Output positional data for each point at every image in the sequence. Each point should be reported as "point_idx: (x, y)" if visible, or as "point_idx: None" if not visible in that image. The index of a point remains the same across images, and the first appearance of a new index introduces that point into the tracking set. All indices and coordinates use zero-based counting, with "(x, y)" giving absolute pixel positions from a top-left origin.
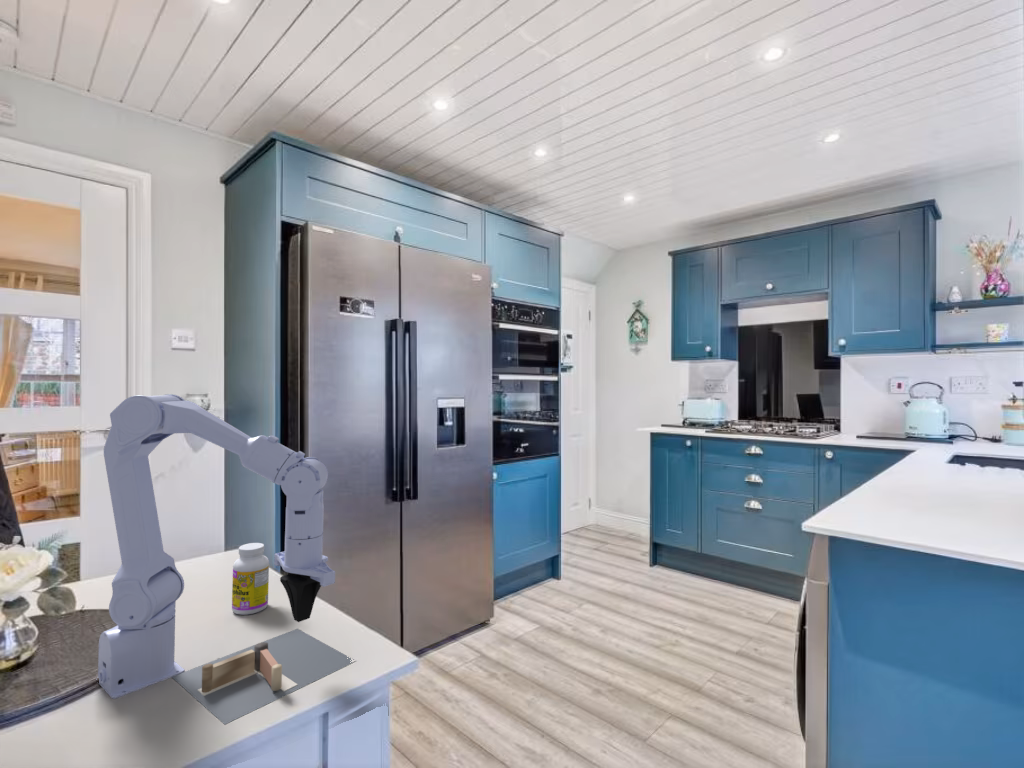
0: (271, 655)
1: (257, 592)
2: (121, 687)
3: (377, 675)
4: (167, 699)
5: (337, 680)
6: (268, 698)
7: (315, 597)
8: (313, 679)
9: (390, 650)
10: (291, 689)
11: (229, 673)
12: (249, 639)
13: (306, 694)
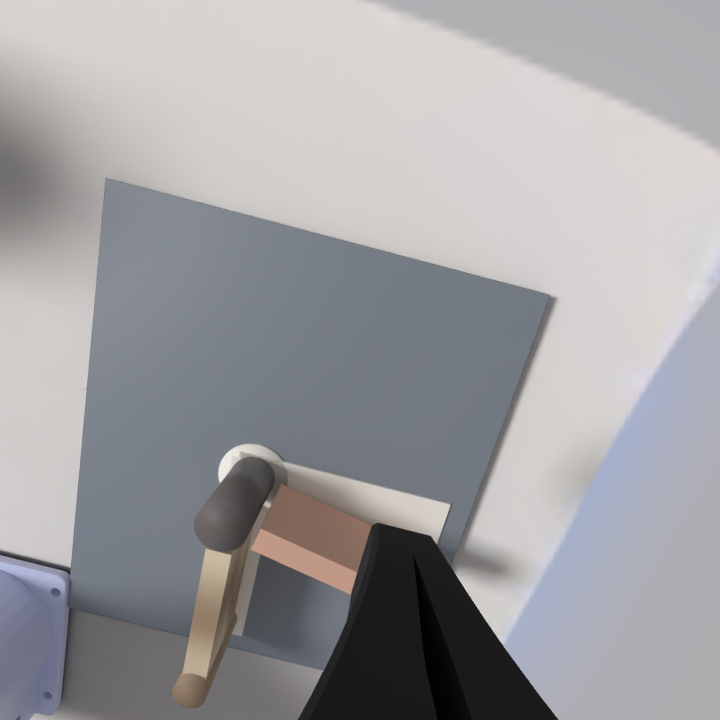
0: (323, 558)
1: None
2: (29, 708)
3: (674, 329)
4: (164, 657)
5: (546, 415)
6: None
7: (537, 698)
8: (477, 460)
9: (631, 131)
10: (449, 526)
11: (233, 595)
12: (20, 331)
13: (500, 512)
